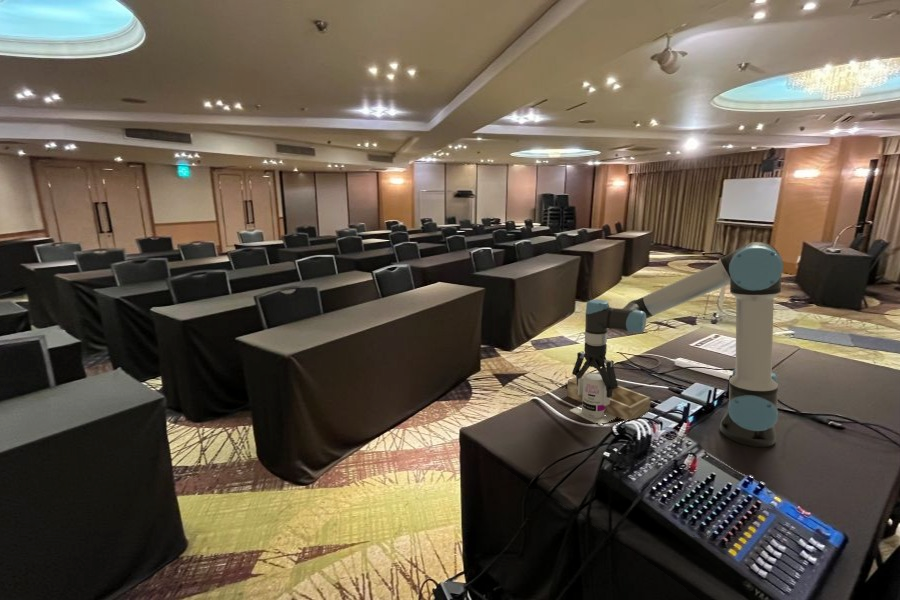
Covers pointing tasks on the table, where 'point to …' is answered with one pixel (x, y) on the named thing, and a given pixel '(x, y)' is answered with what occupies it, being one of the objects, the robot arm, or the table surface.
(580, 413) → the mat
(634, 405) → the crate
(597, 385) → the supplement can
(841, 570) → the table surface
